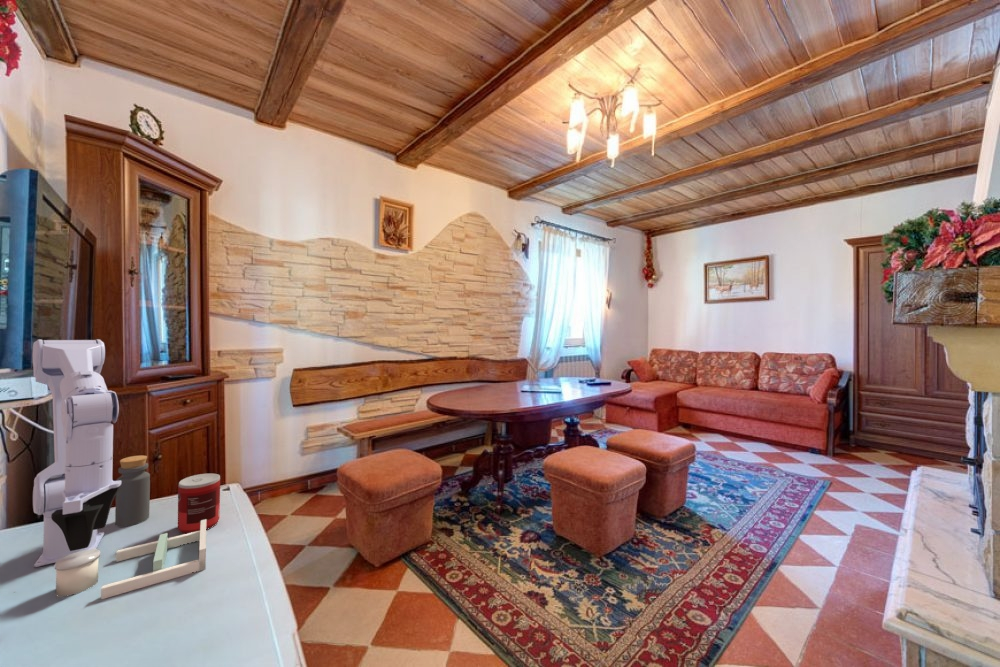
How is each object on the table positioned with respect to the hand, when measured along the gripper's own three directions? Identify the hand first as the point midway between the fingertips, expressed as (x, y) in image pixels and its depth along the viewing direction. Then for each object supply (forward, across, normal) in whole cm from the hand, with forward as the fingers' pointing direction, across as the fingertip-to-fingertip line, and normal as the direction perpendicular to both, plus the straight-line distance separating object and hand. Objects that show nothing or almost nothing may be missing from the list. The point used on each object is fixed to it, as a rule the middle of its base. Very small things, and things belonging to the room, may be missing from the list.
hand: (88, 538), depth 67 cm
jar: (+9, +1, +2) cm, 9 cm away
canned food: (+9, +17, -14) cm, 24 cm away
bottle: (+9, +28, 0) cm, 29 cm away
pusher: (+9, +2, -9) cm, 13 cm away
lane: (+9, +2, -9) cm, 13 cm away
